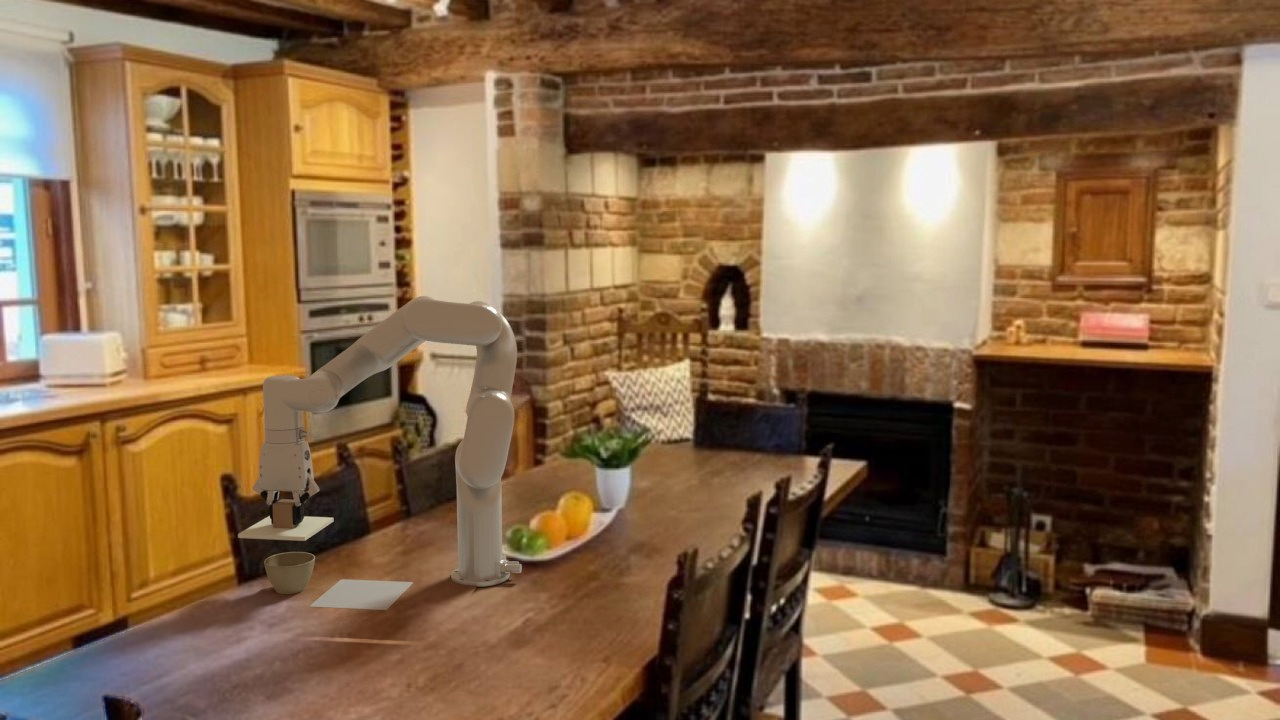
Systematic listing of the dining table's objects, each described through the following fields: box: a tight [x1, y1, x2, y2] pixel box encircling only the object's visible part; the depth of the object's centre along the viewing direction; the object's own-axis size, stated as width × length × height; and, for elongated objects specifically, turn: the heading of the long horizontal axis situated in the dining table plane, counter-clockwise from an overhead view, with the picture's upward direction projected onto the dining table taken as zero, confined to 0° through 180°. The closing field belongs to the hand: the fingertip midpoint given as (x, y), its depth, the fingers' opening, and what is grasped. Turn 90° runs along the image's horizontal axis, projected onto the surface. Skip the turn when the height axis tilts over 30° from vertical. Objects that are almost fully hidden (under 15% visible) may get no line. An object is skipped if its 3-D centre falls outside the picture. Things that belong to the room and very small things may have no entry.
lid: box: [237, 498, 335, 542], centre depth 209 cm, size 14×14×6 cm
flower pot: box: [263, 551, 316, 595], centre depth 211 cm, size 10×10×7 cm
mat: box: [308, 578, 414, 611], centre depth 209 cm, size 16×16×1 cm
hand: (287, 521), depth 209 cm, fingers closed on lid, 4 cm apart
